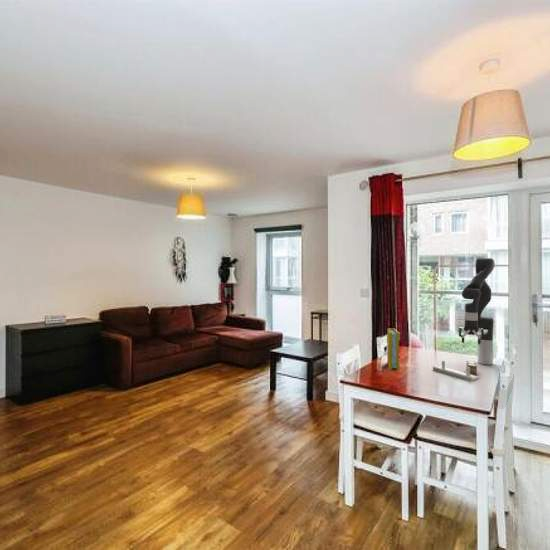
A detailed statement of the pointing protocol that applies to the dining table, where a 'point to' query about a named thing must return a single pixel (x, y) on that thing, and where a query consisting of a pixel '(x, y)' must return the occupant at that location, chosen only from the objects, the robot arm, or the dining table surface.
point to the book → (393, 348)
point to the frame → (472, 367)
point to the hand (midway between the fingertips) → (471, 343)
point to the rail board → (456, 372)
